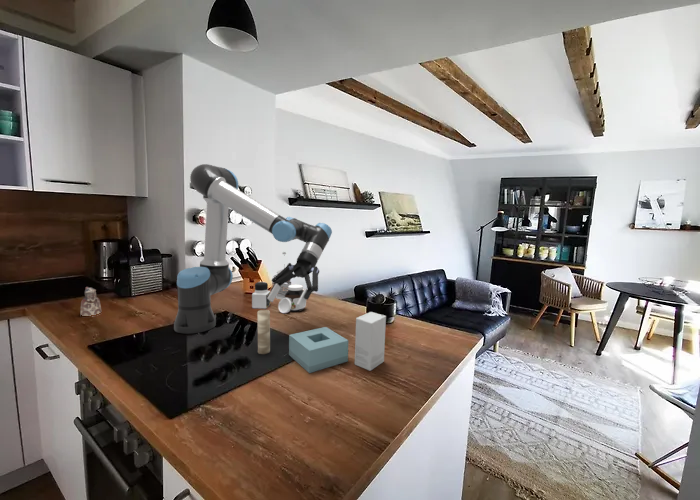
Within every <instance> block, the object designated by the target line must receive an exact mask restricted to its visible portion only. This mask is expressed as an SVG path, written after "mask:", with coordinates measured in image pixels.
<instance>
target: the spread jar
mask: <svg viewBox="0 0 700 500" xmlns="http://www.w3.org/2000/svg"><path fill="white" fill-rule="evenodd" d="M287 289H288V290H286V291H287V292H286V294H285V298H283V299H279V302H278V304H277V308H278V311H279V312H280V313H282V314H287V313H289V312H291V313H298V312H299V313H300V312H302V311H303V310H305V308H306V306H307V300H306V301H305V303H304V305H303V307H302V308H300V307H299V306H298V305H297V303H298V301H299V299H300V297H301V295H302V293H303V291H304V289H303V285H301V284H291V285H289V286H288V288H287Z"/></svg>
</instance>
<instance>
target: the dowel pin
mask: <svg viewBox="0 0 700 500" xmlns="http://www.w3.org/2000/svg"><path fill="white" fill-rule="evenodd" d="M256 314H257V353H258V354H259V355H267V354H269V353H270V352H271V311H270V310H269V309H260V310H258V311H257V313H256Z"/></svg>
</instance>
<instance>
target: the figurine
mask: <svg viewBox="0 0 700 500" xmlns="http://www.w3.org/2000/svg"><path fill="white" fill-rule="evenodd" d="M96 291H97V289H95V288H93V287H89V286H86V287H85V290H84V297H83V298H82V300H81V302H80V309H79V310H80V316H81V315H82V316H91V315H96V314H99V313H101V312H102V306H101V301H100V300H101V299H100V298H99V297H97V292H96ZM101 314H102V313H101ZM99 315H100V314H99Z"/></svg>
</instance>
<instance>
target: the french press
mask: <svg viewBox="0 0 700 500" xmlns="http://www.w3.org/2000/svg"><path fill="white" fill-rule="evenodd" d="M286 254H287V253H286V251H283V252H282V255H286ZM282 270H283V269H280V270H278V271H277V272H276V273H277V274H275V275H273V277H272V278H271V280H272V279H273V278H274V277H275V276H276V275H278V274H279V273H280V272H281V271H282ZM279 283H280V282H279ZM271 284H274V283H273V282H272V281H271ZM289 285H292V281H291V279H290V280H289V281H287V282H285V283H284V284H282V285H281V286H280V287H281V288H280V290H279V292H278V293H277V295H276V297H275V299H277V300H281V299H283V298H285V294H286V292H287V291H288V286H289Z"/></svg>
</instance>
